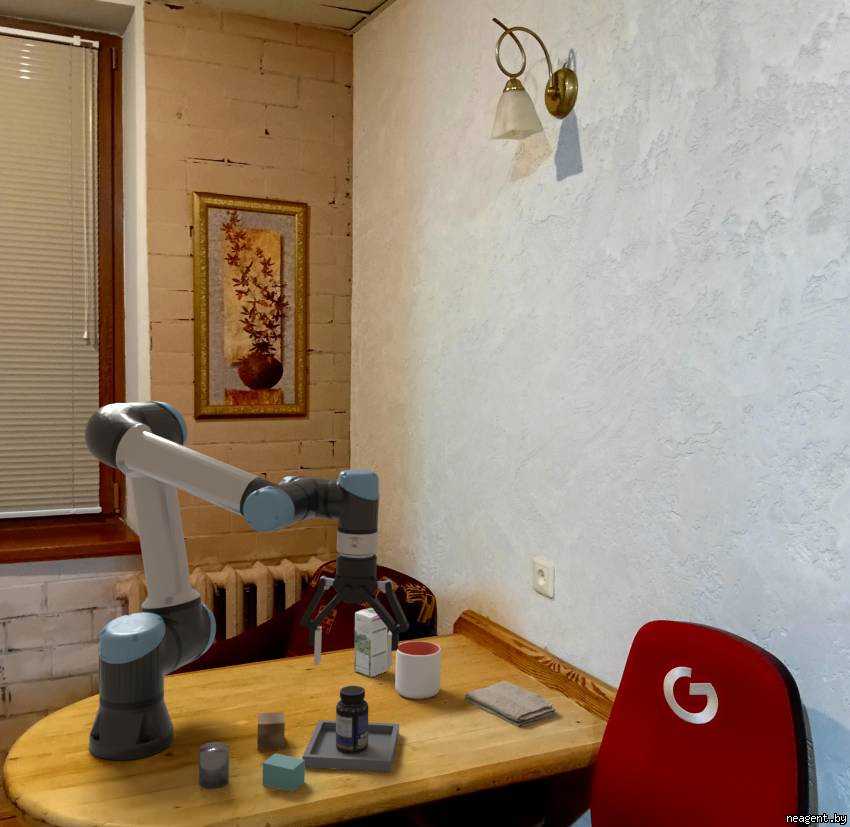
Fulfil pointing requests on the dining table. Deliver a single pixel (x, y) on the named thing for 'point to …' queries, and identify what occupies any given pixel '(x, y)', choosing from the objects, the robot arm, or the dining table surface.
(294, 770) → the teal block
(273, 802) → the dining table surface
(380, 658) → the syrup box
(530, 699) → the washcloth
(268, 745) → the walnut cube
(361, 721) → the pill bottle
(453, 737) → the dining table surface
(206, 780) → the metal cylinder
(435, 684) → the cup
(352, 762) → the tray
